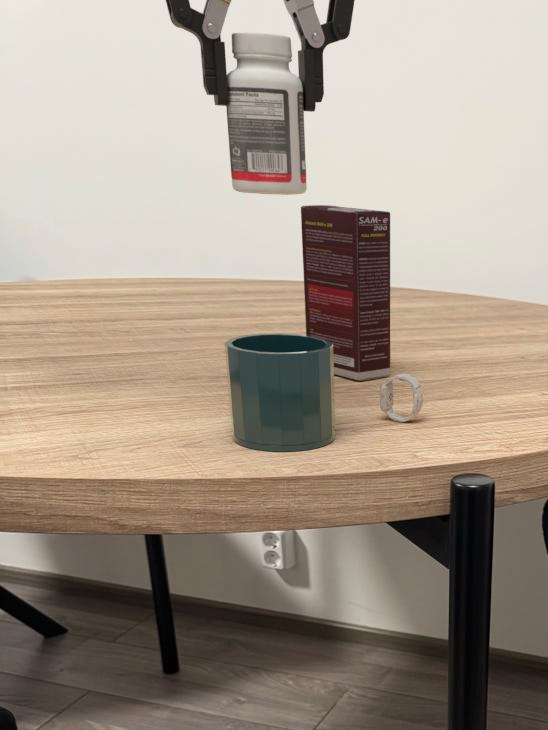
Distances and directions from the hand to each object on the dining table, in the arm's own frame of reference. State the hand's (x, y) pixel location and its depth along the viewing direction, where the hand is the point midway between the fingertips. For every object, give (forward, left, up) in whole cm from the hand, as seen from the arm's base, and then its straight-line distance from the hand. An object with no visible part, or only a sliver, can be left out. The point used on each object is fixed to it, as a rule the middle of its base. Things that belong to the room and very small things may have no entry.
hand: (265, 107), depth 66 cm
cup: (0, 0, -24) cm, 24 cm away
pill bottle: (0, 0, -6) cm, 6 cm away
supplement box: (+11, +23, -24) cm, 35 cm away
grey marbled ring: (+11, +3, -24) cm, 26 cm away
